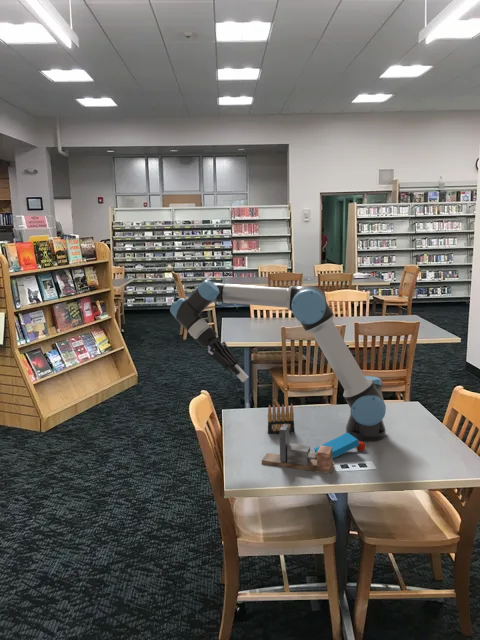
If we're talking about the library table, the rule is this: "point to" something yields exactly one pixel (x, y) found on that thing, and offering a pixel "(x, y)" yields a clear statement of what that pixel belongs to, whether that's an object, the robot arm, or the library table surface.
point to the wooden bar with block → (303, 459)
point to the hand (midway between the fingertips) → (245, 379)
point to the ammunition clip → (280, 419)
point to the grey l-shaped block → (285, 444)
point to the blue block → (343, 444)
